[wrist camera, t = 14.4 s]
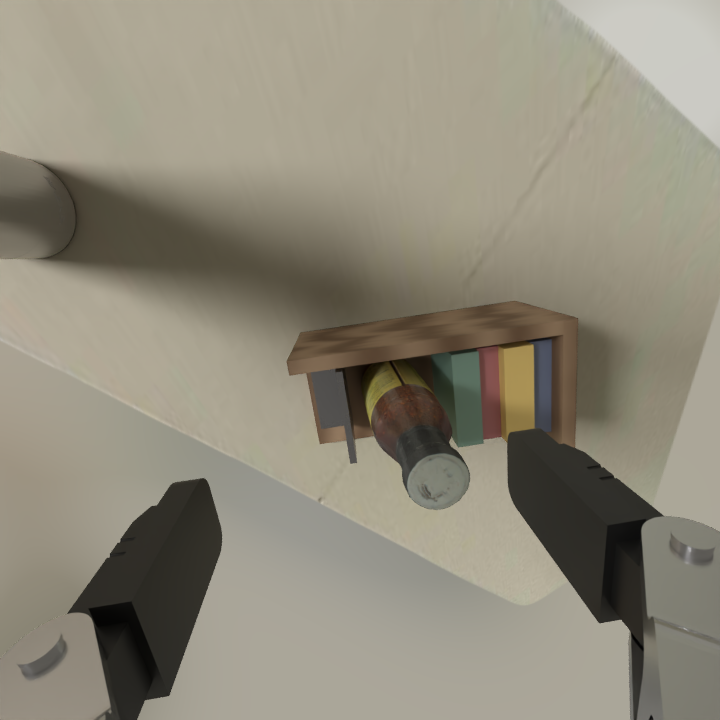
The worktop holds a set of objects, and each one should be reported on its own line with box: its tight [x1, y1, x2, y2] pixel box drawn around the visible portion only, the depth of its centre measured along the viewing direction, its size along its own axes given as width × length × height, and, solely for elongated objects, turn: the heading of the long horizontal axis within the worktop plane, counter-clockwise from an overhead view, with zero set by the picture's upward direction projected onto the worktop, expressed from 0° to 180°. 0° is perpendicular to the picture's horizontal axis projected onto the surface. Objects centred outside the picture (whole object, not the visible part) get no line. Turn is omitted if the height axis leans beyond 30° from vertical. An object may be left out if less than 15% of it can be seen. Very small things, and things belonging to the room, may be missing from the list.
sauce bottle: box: [361, 359, 470, 510], centre depth 32 cm, size 6×6×20 cm
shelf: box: [287, 301, 578, 448], centre depth 38 cm, size 24×13×12 cm, turn 98°
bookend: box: [311, 367, 357, 464], centre depth 38 cm, size 4×9×8 cm, turn 8°
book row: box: [431, 337, 552, 447], centre depth 38 cm, size 9×9×9 cm
